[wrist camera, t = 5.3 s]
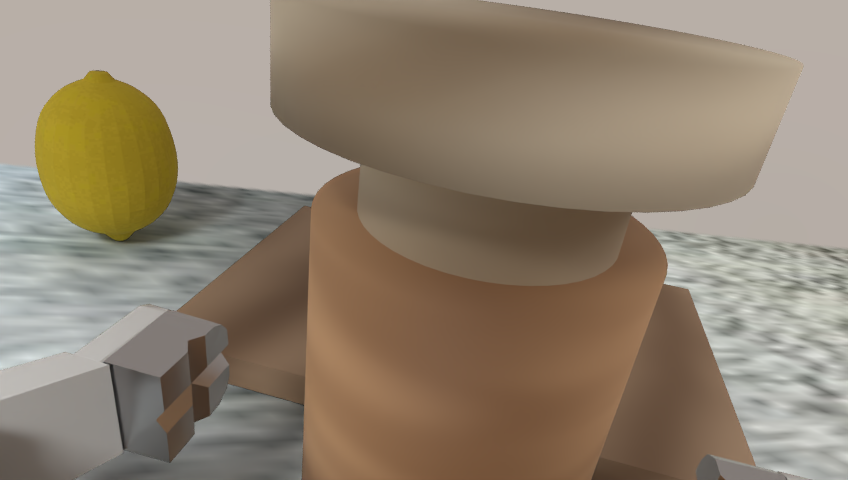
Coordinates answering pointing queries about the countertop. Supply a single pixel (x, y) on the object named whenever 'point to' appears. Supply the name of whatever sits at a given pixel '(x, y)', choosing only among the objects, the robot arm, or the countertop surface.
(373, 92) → the bobbin
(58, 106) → the lemon
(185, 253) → the countertop surface
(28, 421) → the robot arm
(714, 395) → the notched board
